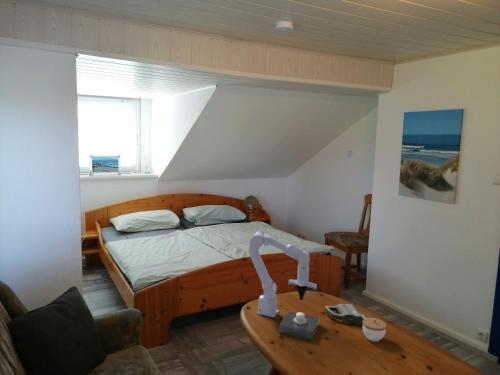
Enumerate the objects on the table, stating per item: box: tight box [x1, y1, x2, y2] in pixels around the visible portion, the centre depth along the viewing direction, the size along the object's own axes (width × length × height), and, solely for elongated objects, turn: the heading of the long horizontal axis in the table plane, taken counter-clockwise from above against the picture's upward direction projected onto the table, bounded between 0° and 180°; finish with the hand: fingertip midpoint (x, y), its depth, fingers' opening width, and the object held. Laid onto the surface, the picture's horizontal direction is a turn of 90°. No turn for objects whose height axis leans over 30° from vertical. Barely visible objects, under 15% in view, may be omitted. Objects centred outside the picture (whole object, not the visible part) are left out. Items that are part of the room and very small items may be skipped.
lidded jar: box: [362, 317, 387, 343], centre depth 179 cm, size 11×11×9 cm
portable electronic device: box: [323, 303, 367, 326], centre depth 197 cm, size 16×20×5 cm
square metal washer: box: [278, 310, 320, 341], centre depth 185 cm, size 16×16×4 cm
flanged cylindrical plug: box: [293, 312, 307, 325], centre depth 185 cm, size 7×7×6 cm
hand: (301, 299), depth 197 cm, fingers closed
